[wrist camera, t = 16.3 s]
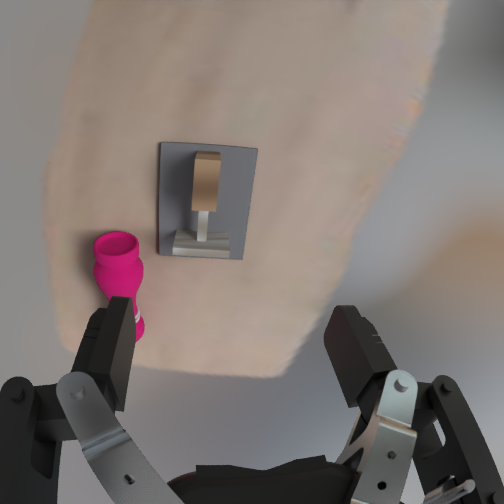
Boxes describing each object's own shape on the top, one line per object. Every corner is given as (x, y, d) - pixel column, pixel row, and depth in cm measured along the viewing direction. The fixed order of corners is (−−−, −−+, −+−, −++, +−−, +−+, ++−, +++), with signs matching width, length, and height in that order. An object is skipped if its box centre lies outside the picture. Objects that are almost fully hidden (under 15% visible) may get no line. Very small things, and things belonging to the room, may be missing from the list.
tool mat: (162, 141, 34) (161, 142, 33) (257, 148, 36) (258, 149, 36) (160, 253, 42) (159, 255, 41) (242, 257, 44) (242, 259, 43)
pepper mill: (78, 249, 33) (102, 348, 44) (122, 265, 32) (138, 365, 43) (110, 225, 39) (123, 321, 50) (152, 237, 38) (156, 335, 49)
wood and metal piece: (180, 149, 34) (175, 157, 30) (237, 153, 35) (240, 162, 31) (176, 236, 40) (172, 254, 36) (227, 239, 41) (229, 257, 37)
